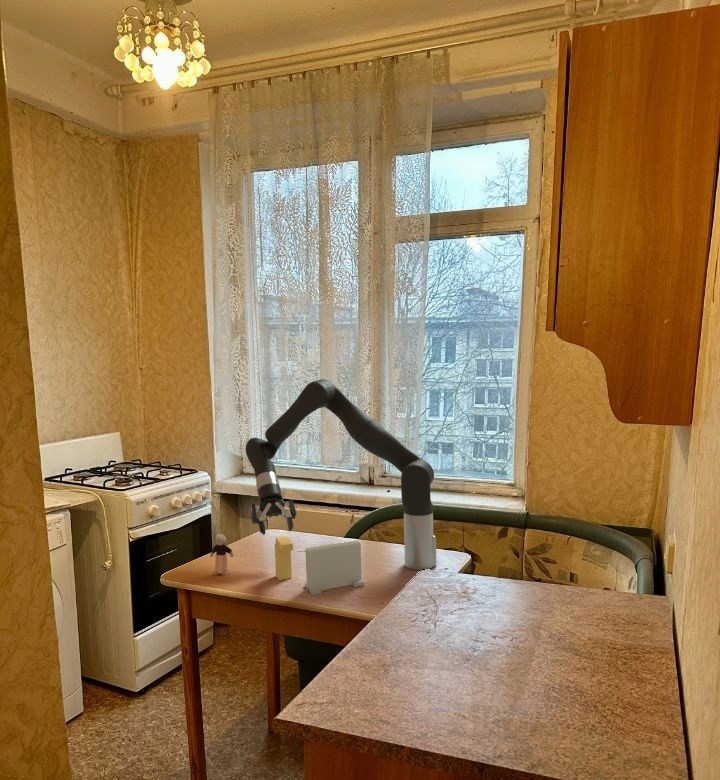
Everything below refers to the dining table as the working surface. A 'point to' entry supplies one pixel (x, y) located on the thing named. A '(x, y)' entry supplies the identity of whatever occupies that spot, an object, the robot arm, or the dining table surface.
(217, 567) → the grandmother figurine
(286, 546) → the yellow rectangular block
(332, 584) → the wall board
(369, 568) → the dining table surface
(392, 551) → the dining table surface
